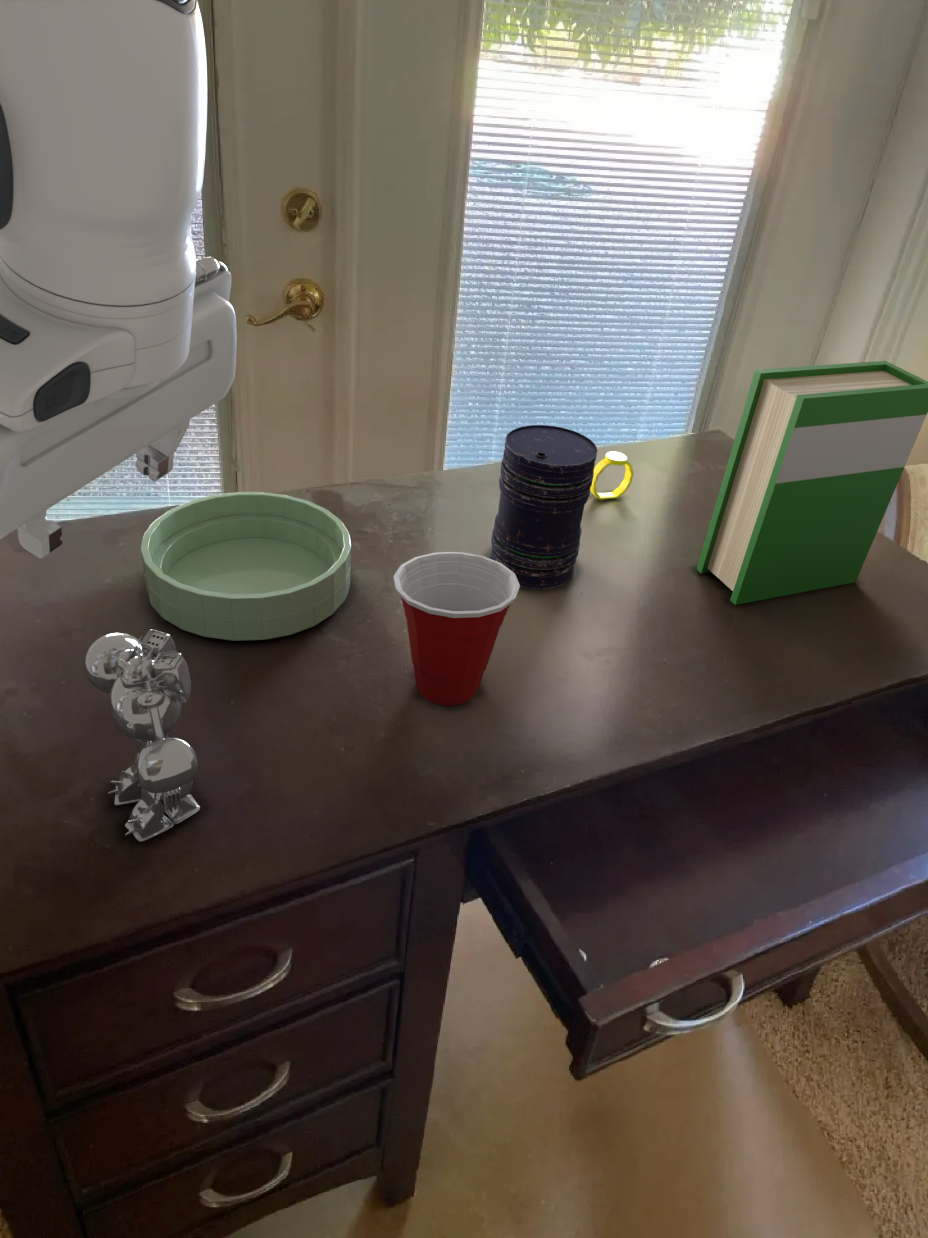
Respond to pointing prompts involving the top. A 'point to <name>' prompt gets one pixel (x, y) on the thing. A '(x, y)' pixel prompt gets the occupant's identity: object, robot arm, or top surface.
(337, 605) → the bowl
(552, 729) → the top surface
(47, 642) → the top surface
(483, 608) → the plastic cup
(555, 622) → the top surface
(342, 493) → the top surface
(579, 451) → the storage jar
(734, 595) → the hardback book
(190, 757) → the robot toy
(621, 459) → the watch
